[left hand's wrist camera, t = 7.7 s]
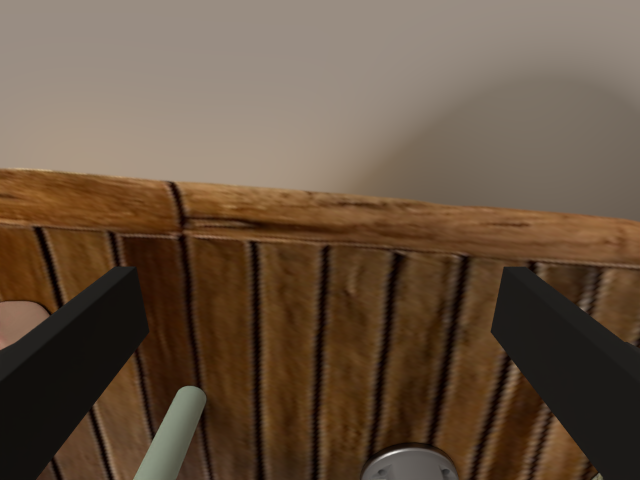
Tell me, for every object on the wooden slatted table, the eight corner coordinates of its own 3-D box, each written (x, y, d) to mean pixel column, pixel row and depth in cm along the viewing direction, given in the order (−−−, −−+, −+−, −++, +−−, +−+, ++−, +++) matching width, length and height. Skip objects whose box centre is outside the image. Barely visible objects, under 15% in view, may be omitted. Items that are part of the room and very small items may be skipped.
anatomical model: (-3, 302, 40) (66, 373, 43) (24, 286, 44) (86, 352, 47) (-84, 347, 42) (-12, 411, 46) (-51, 327, 46) (13, 388, 49)
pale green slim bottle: (173, 403, 51) (97, 554, 33) (181, 382, 49) (106, 528, 32) (201, 412, 51) (141, 565, 34) (210, 391, 50) (152, 539, 33)
